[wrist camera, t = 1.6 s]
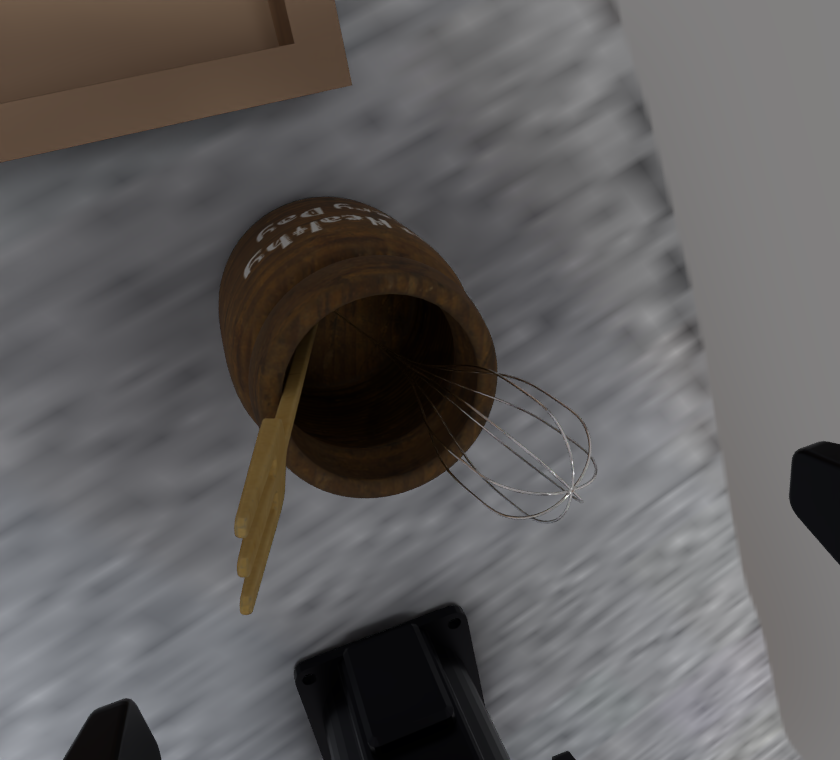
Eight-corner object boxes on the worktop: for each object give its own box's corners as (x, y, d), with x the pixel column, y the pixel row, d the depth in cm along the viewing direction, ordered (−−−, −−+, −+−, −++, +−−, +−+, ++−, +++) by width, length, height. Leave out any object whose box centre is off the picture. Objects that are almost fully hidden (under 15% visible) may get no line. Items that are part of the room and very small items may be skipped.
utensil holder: (418, 382, 23) (629, 656, 12) (211, 399, 21) (249, 740, 10) (427, 190, 20) (697, 325, 10) (194, 191, 18) (223, 358, 8)
